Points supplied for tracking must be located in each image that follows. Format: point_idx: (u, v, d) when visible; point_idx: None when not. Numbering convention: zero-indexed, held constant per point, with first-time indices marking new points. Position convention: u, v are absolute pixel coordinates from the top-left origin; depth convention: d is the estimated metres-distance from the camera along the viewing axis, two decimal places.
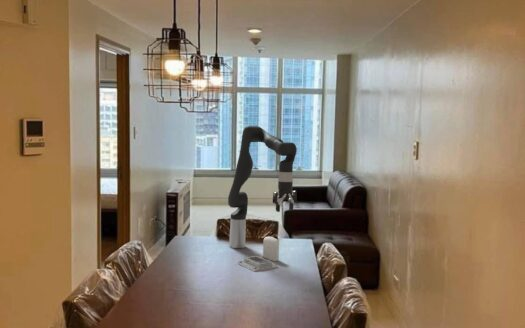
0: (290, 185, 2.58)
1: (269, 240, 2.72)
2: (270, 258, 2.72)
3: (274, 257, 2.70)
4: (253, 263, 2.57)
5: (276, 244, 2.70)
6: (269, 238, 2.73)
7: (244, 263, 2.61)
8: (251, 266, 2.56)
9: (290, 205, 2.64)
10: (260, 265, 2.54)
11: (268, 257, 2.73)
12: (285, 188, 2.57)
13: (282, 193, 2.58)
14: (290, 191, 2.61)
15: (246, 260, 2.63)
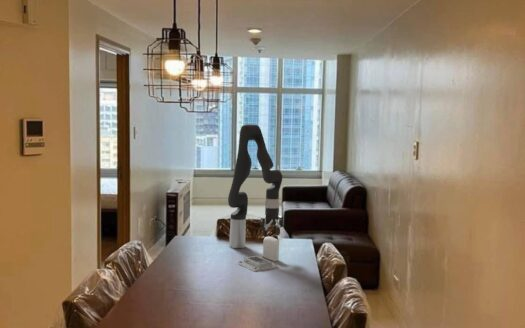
0: (276, 211, 2.70)
1: (269, 240, 2.72)
2: (270, 258, 2.72)
3: (274, 257, 2.70)
4: (253, 263, 2.57)
5: (276, 244, 2.70)
6: (269, 238, 2.73)
7: (244, 263, 2.61)
8: (251, 266, 2.56)
9: (277, 230, 2.76)
10: (260, 265, 2.54)
11: (268, 257, 2.73)
12: (272, 214, 2.69)
13: (269, 219, 2.71)
14: (277, 217, 2.74)
15: (246, 260, 2.63)
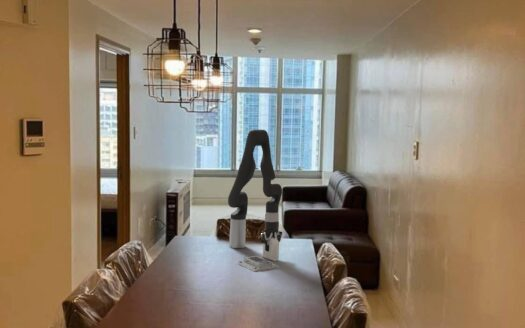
0: (276, 225, 2.71)
1: None
2: (270, 258, 2.72)
3: (274, 257, 2.70)
4: (253, 263, 2.57)
5: (276, 244, 2.70)
6: None
7: (244, 263, 2.61)
8: (251, 266, 2.56)
9: None
10: (260, 265, 2.54)
11: (268, 257, 2.73)
12: (271, 228, 2.70)
13: (268, 233, 2.71)
14: (277, 230, 2.75)
15: (246, 260, 2.63)
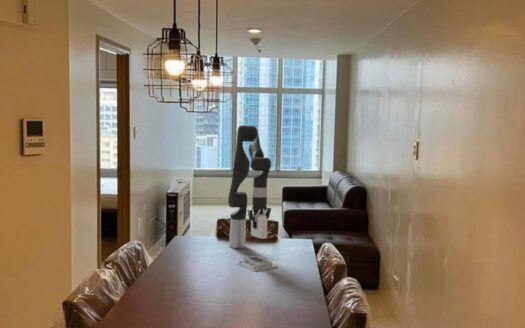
0: (264, 200, 2.56)
1: None
2: (258, 236, 2.57)
3: (262, 234, 2.56)
4: (253, 263, 2.57)
5: (264, 221, 2.56)
6: None
7: (244, 263, 2.61)
8: (251, 266, 2.56)
9: None
10: (260, 265, 2.54)
11: (256, 235, 2.59)
12: (259, 203, 2.55)
13: (256, 209, 2.57)
14: (265, 206, 2.60)
15: (246, 260, 2.63)
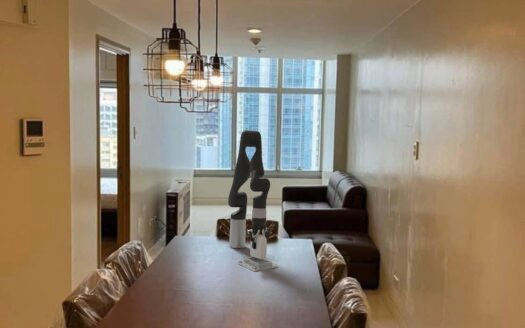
0: (263, 221, 2.57)
1: None
2: (257, 256, 2.58)
3: (261, 255, 2.56)
4: (253, 263, 2.57)
5: (264, 241, 2.56)
6: None
7: (244, 263, 2.61)
8: (251, 266, 2.56)
9: None
10: (260, 265, 2.54)
11: (255, 255, 2.59)
12: (258, 224, 2.56)
13: (255, 230, 2.58)
14: (264, 226, 2.61)
15: (246, 260, 2.63)
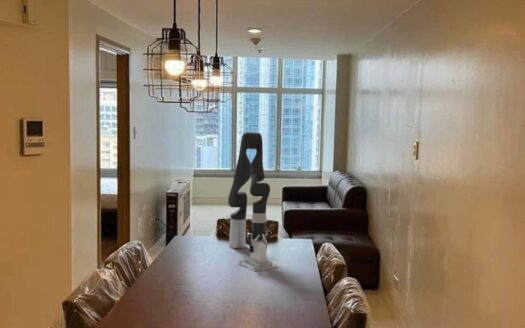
0: (263, 226, 2.57)
1: (256, 244, 2.59)
2: None
3: (261, 261, 2.57)
4: (253, 263, 2.57)
5: (263, 248, 2.57)
6: (256, 242, 2.60)
7: (244, 263, 2.61)
8: (251, 266, 2.56)
9: None
10: (260, 265, 2.54)
11: (255, 261, 2.60)
12: (258, 229, 2.56)
13: (255, 234, 2.58)
14: (264, 231, 2.61)
15: (246, 260, 2.63)
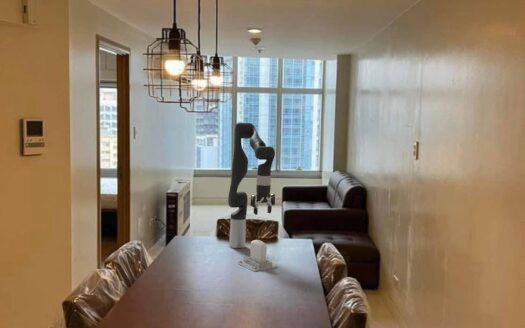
0: (268, 189, 2.62)
1: (256, 244, 2.59)
2: None
3: (261, 261, 2.57)
4: (253, 263, 2.57)
5: (263, 248, 2.57)
6: (256, 242, 2.60)
7: (244, 263, 2.61)
8: (251, 266, 2.56)
9: (268, 208, 2.68)
10: (260, 265, 2.54)
11: (255, 261, 2.60)
12: (263, 191, 2.61)
13: (260, 196, 2.62)
14: (268, 194, 2.65)
15: (246, 260, 2.63)
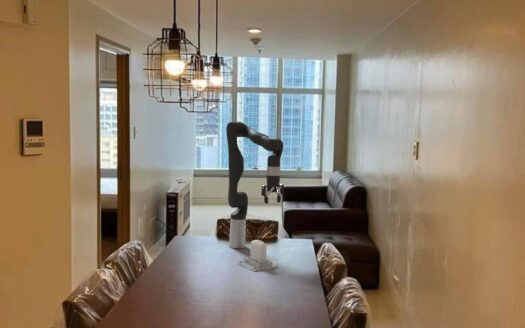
0: (277, 179, 2.76)
1: (256, 244, 2.59)
2: None
3: (261, 261, 2.57)
4: (253, 263, 2.57)
5: (263, 248, 2.57)
6: (256, 242, 2.60)
7: (244, 263, 2.61)
8: (251, 266, 2.56)
9: (278, 197, 2.82)
10: (260, 265, 2.54)
11: (255, 261, 2.60)
12: (273, 181, 2.75)
13: (270, 186, 2.77)
14: (278, 184, 2.80)
15: (246, 260, 2.63)
